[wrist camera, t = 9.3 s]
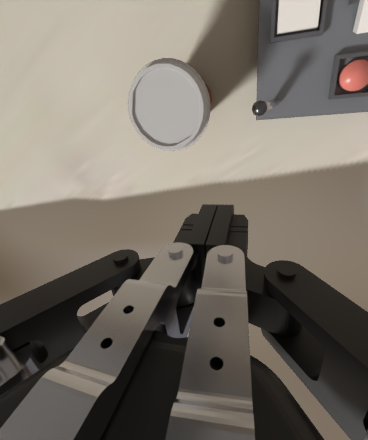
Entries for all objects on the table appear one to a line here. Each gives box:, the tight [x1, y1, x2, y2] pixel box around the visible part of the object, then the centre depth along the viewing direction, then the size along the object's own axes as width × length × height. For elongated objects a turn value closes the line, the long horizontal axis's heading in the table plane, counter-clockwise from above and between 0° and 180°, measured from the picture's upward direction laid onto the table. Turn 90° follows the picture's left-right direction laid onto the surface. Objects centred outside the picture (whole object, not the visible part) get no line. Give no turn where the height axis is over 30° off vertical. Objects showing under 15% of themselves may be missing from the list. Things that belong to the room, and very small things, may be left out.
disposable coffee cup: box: [128, 58, 211, 151], centre depth 32 cm, size 10×10×12 cm
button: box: [338, 60, 368, 91], centre depth 28 cm, size 3×3×1 cm
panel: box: [256, 0, 368, 120], centre depth 28 cm, size 16×15×4 cm
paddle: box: [277, 0, 321, 35], centre depth 27 cm, size 4×4×1 cm
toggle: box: [252, 98, 280, 116], centre depth 29 cm, size 2×2×7 cm
